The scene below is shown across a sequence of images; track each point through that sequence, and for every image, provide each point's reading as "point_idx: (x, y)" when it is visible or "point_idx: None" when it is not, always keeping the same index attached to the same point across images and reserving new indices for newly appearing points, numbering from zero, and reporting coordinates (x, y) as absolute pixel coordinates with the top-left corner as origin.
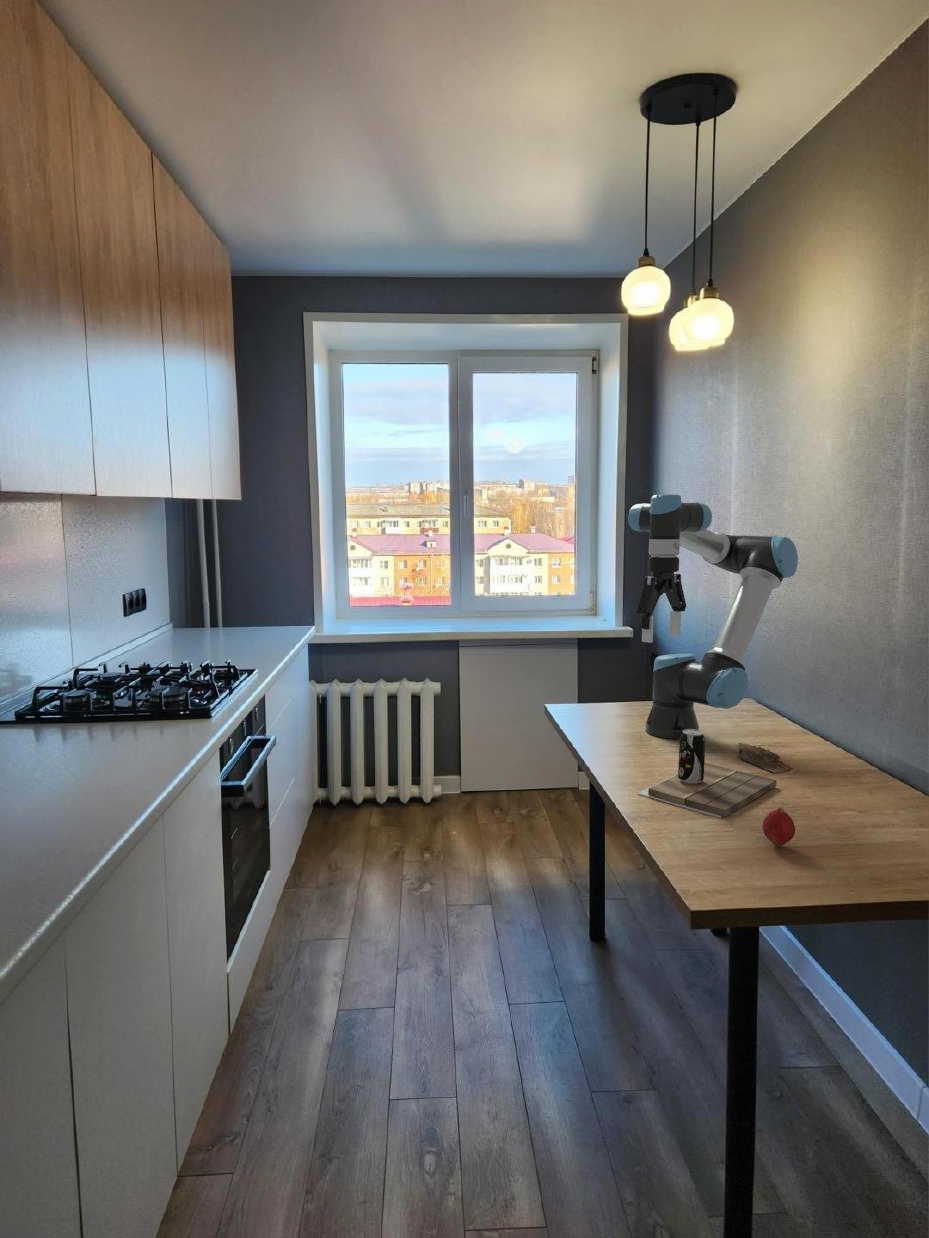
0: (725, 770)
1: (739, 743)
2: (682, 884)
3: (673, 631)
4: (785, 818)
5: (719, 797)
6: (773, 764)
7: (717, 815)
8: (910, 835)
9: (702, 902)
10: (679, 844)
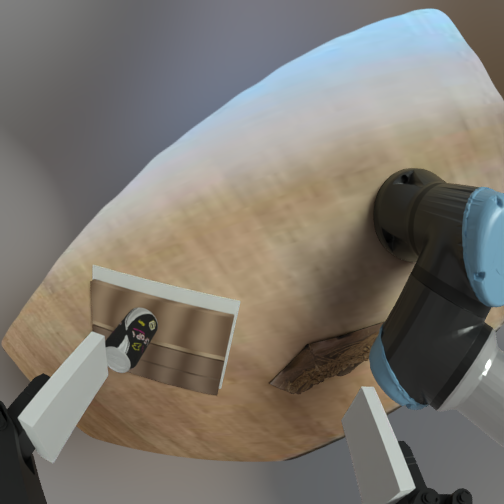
0: (216, 348)
1: None
2: (8, 336)
3: (358, 417)
4: None
5: None
6: (300, 379)
7: None
8: (172, 453)
9: (6, 347)
10: (38, 328)
